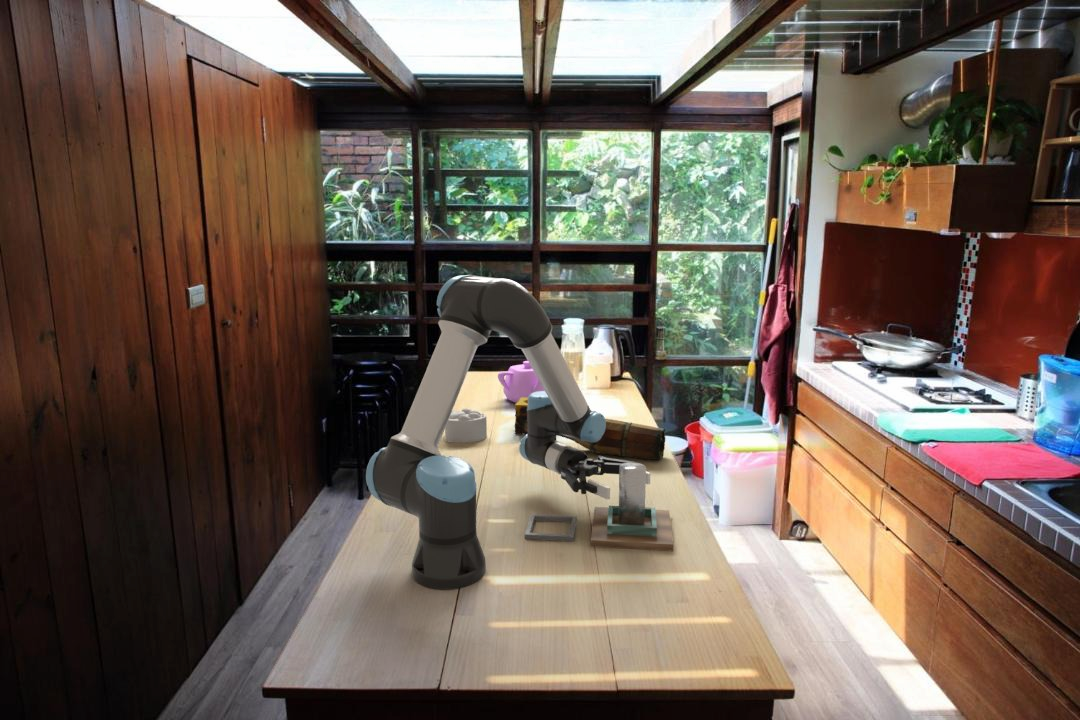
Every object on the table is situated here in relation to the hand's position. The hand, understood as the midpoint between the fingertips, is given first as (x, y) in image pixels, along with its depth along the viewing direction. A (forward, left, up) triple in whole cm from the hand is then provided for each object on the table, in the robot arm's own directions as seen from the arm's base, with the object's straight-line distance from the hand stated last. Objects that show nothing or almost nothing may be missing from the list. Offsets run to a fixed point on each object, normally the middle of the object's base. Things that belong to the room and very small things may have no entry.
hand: (629, 486), depth 169 cm
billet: (-1, -1, -9) cm, 9 cm away
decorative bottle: (+52, +12, -11) cm, 55 cm away
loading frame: (-2, +18, -11) cm, 21 cm away
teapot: (+107, +38, -11) cm, 114 cm away
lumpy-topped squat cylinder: (+61, +52, -11) cm, 81 cm away
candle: (+71, +32, -11) cm, 78 cm away
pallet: (-1, -1, -11) cm, 11 cm away
